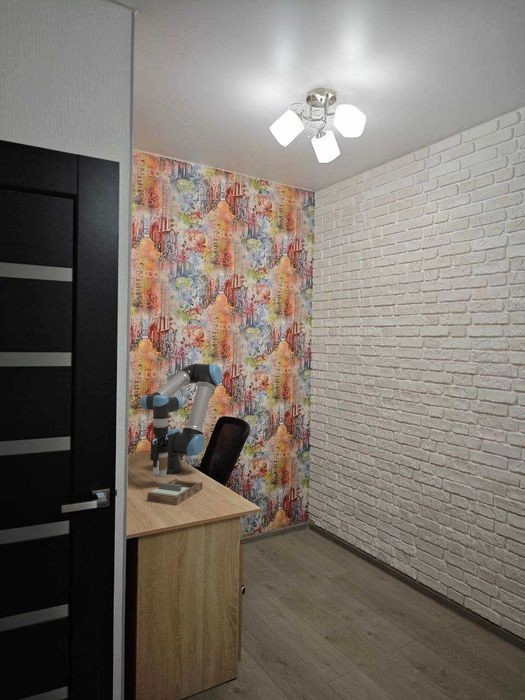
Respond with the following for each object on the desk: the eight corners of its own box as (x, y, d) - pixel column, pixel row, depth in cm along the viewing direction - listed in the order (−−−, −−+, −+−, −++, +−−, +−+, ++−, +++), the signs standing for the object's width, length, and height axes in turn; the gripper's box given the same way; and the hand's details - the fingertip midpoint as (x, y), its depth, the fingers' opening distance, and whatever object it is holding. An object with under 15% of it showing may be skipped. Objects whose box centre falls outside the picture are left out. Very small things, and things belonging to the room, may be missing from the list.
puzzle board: (175, 485, 244) (175, 478, 244) (202, 489, 239) (202, 482, 239) (147, 500, 219) (147, 493, 219) (176, 505, 214) (176, 497, 214)
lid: (164, 486, 231) (164, 479, 231) (188, 489, 227) (188, 482, 227) (150, 493, 220) (150, 486, 220) (175, 496, 216) (176, 489, 216)
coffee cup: (164, 478, 238) (165, 448, 237) (148, 477, 240) (148, 447, 239) (171, 473, 246) (171, 444, 246) (155, 472, 248) (156, 443, 247)
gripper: (164, 422, 253) (164, 465, 254) (142, 429, 234) (142, 476, 234) (177, 423, 251) (176, 467, 251) (156, 430, 231) (156, 477, 232)
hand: (160, 471), depth 243 cm, fingers closed on coffee cup, 7 cm apart
